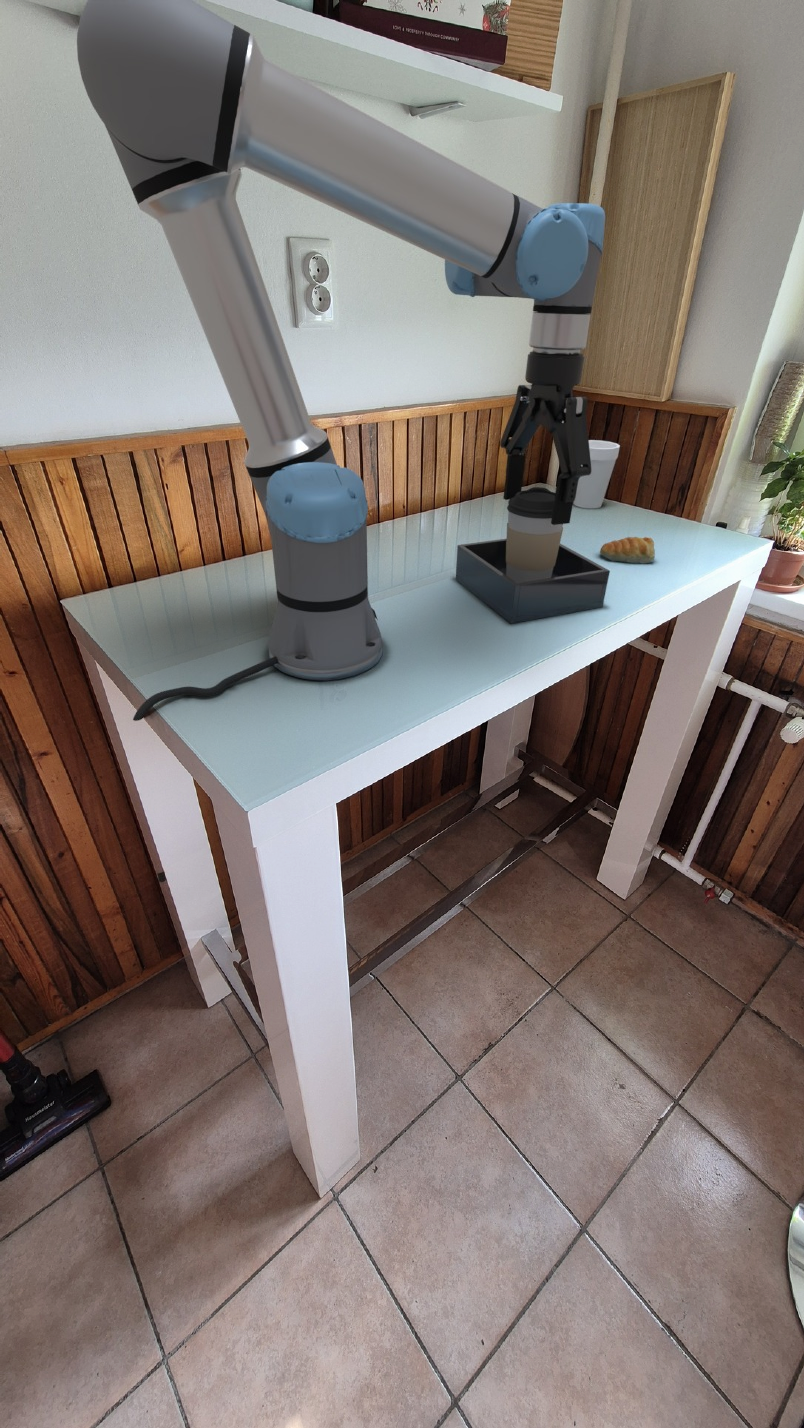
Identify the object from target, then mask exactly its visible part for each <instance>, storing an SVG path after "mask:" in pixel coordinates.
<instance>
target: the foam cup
mask: <svg viewBox="0 0 804 1428" xmlns="http://www.w3.org/2000/svg"><path fill="white" fill-rule="evenodd" d="M588 440H589V450H590V460H591V474H590V475H586V476H582V477H580V478H579V480H578V486H577V491H576V497H575V500H574V502H573V506H576V507H577V508H583V509H599V508H601V507H602V505H603V502H604V499H605V496H606V493H607V490H608V487H609V482H610V479H611V477H612V474H613V471H614V468H615V464H616V461H617V459H618V458H619V452H620V447H621V445H620V444H619V443H616V442H612V441H609V440H599V439H598V440H597V439H596V440H595V439H588ZM581 466H582V465H581Z"/></svg>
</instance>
